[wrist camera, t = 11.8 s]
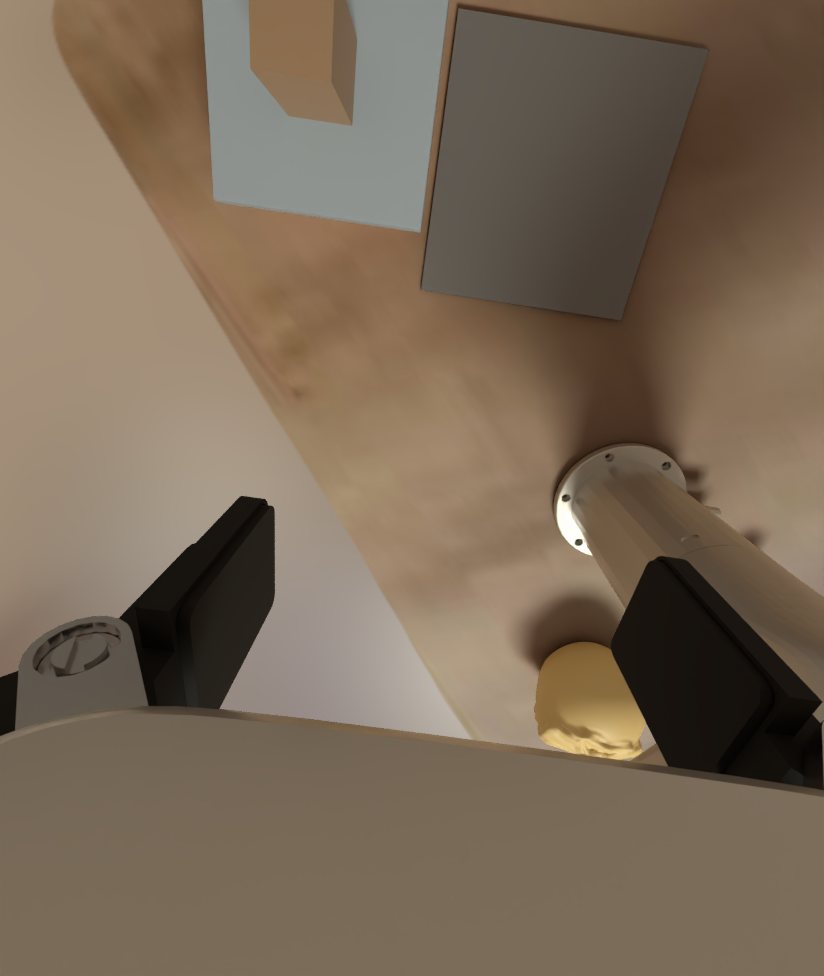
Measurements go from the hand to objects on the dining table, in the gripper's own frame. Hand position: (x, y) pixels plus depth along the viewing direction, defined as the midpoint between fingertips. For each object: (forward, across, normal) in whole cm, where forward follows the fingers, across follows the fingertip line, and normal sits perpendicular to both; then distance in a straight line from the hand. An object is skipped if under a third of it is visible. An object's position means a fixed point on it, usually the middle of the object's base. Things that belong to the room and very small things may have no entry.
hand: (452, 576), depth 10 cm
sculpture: (+31, -23, +33) cm, 51 cm away
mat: (+30, -6, -15) cm, 34 cm away
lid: (+25, +10, -17) cm, 32 cm away
